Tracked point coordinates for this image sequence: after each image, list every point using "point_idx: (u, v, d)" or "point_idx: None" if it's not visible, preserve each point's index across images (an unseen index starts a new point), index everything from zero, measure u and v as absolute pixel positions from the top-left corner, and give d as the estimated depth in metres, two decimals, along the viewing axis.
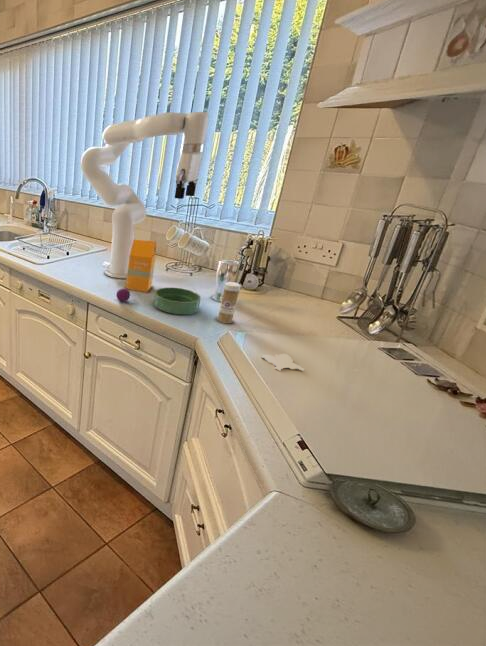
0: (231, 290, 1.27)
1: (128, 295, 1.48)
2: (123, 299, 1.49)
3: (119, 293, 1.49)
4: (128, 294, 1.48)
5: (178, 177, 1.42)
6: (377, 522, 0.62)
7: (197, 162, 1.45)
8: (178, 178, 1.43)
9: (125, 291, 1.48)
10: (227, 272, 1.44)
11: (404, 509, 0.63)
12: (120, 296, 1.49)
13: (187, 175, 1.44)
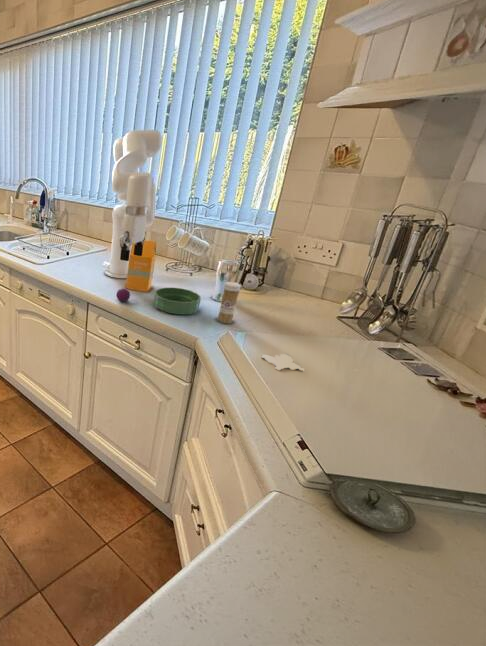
0: (231, 290, 1.27)
1: (128, 295, 1.48)
2: (123, 299, 1.49)
3: (119, 293, 1.49)
4: (128, 294, 1.48)
5: (121, 240, 1.37)
6: (377, 522, 0.62)
7: (142, 224, 1.39)
8: (121, 241, 1.37)
9: (125, 291, 1.48)
10: (227, 272, 1.44)
11: (404, 509, 0.63)
12: (120, 296, 1.49)
13: (131, 238, 1.38)
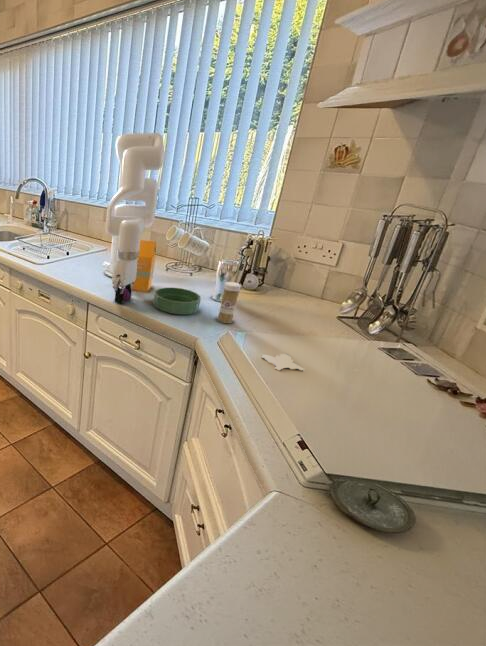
0: (231, 290, 1.27)
1: (128, 295, 1.48)
2: (123, 299, 1.49)
3: None
4: (128, 294, 1.48)
5: (114, 288, 1.44)
6: (377, 522, 0.62)
7: (133, 267, 1.45)
8: (115, 288, 1.44)
9: (125, 291, 1.48)
10: (227, 272, 1.44)
11: (404, 509, 0.63)
12: None
13: (122, 281, 1.43)
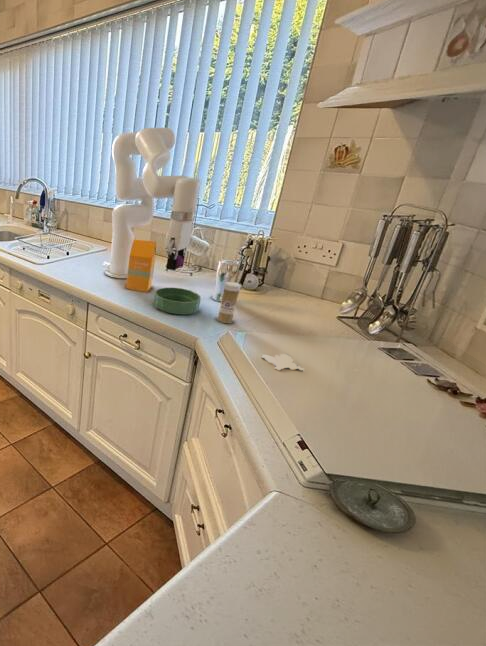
0: (231, 290, 1.27)
1: (181, 261, 1.37)
2: (176, 265, 1.37)
3: None
4: (181, 260, 1.37)
5: (168, 252, 1.33)
6: (377, 522, 0.62)
7: (188, 230, 1.33)
8: (169, 252, 1.33)
9: (178, 257, 1.37)
10: (227, 272, 1.44)
11: (404, 509, 0.63)
12: None
13: (177, 244, 1.32)
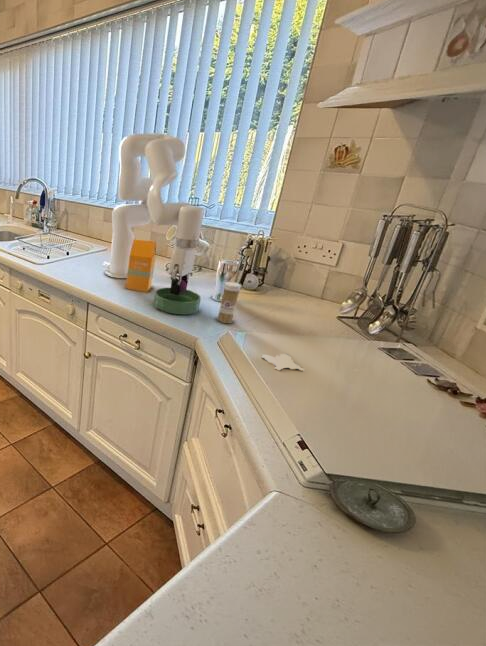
0: (231, 290, 1.27)
1: (185, 286, 1.40)
2: (180, 290, 1.40)
3: None
4: (185, 285, 1.40)
5: (172, 278, 1.35)
6: (377, 522, 0.62)
7: (192, 256, 1.36)
8: (173, 278, 1.36)
9: (182, 282, 1.40)
10: (227, 272, 1.44)
11: (404, 509, 0.63)
12: None
13: (181, 271, 1.35)
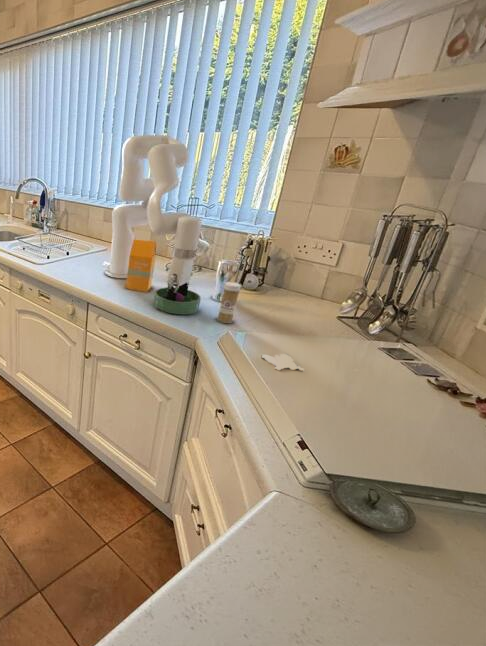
0: (231, 290, 1.27)
1: (182, 300, 1.42)
2: None
3: None
4: (182, 299, 1.42)
5: (169, 284, 1.35)
6: (377, 522, 0.62)
7: (190, 266, 1.38)
8: (169, 285, 1.36)
9: (179, 295, 1.42)
10: (227, 272, 1.44)
11: (404, 509, 0.63)
12: None
13: (179, 280, 1.36)
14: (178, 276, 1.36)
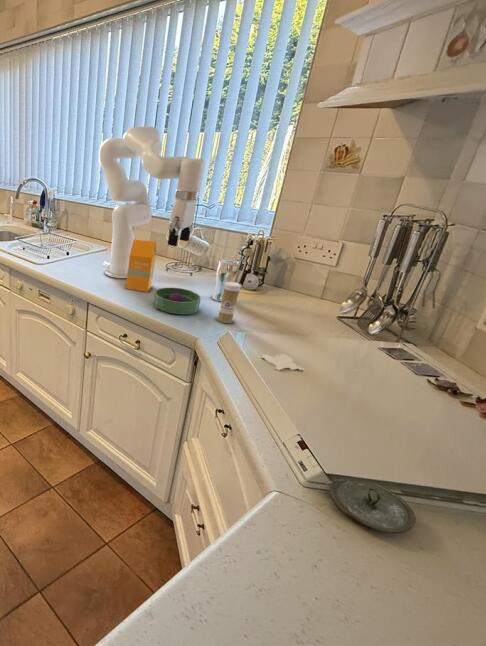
0: (231, 290, 1.27)
1: (182, 300, 1.42)
2: None
3: (173, 298, 1.42)
4: (182, 299, 1.42)
5: (171, 225, 1.37)
6: (377, 522, 0.62)
7: (192, 209, 1.39)
8: (171, 226, 1.38)
9: (179, 295, 1.42)
10: (227, 272, 1.44)
11: (404, 509, 0.63)
12: None
13: (181, 223, 1.38)
14: (180, 218, 1.38)
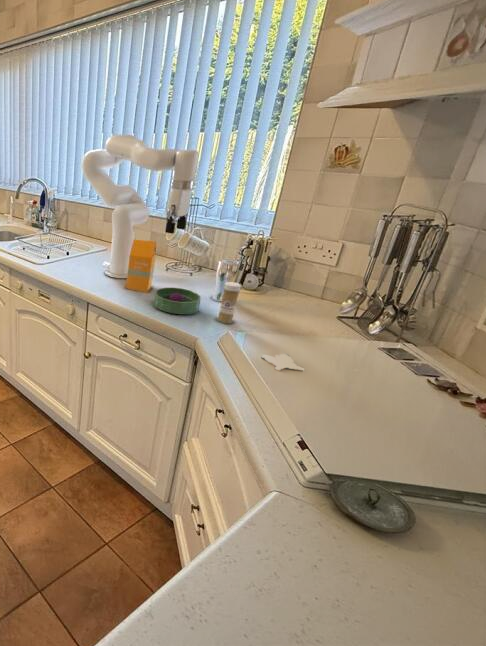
0: (231, 290, 1.27)
1: (182, 300, 1.42)
2: None
3: (173, 298, 1.42)
4: (182, 299, 1.42)
5: (168, 213, 1.45)
6: (377, 522, 0.62)
7: (187, 198, 1.47)
8: (168, 214, 1.45)
9: (179, 296, 1.42)
10: (227, 272, 1.44)
11: (404, 509, 0.63)
12: None
13: (177, 211, 1.46)
14: (176, 207, 1.45)
